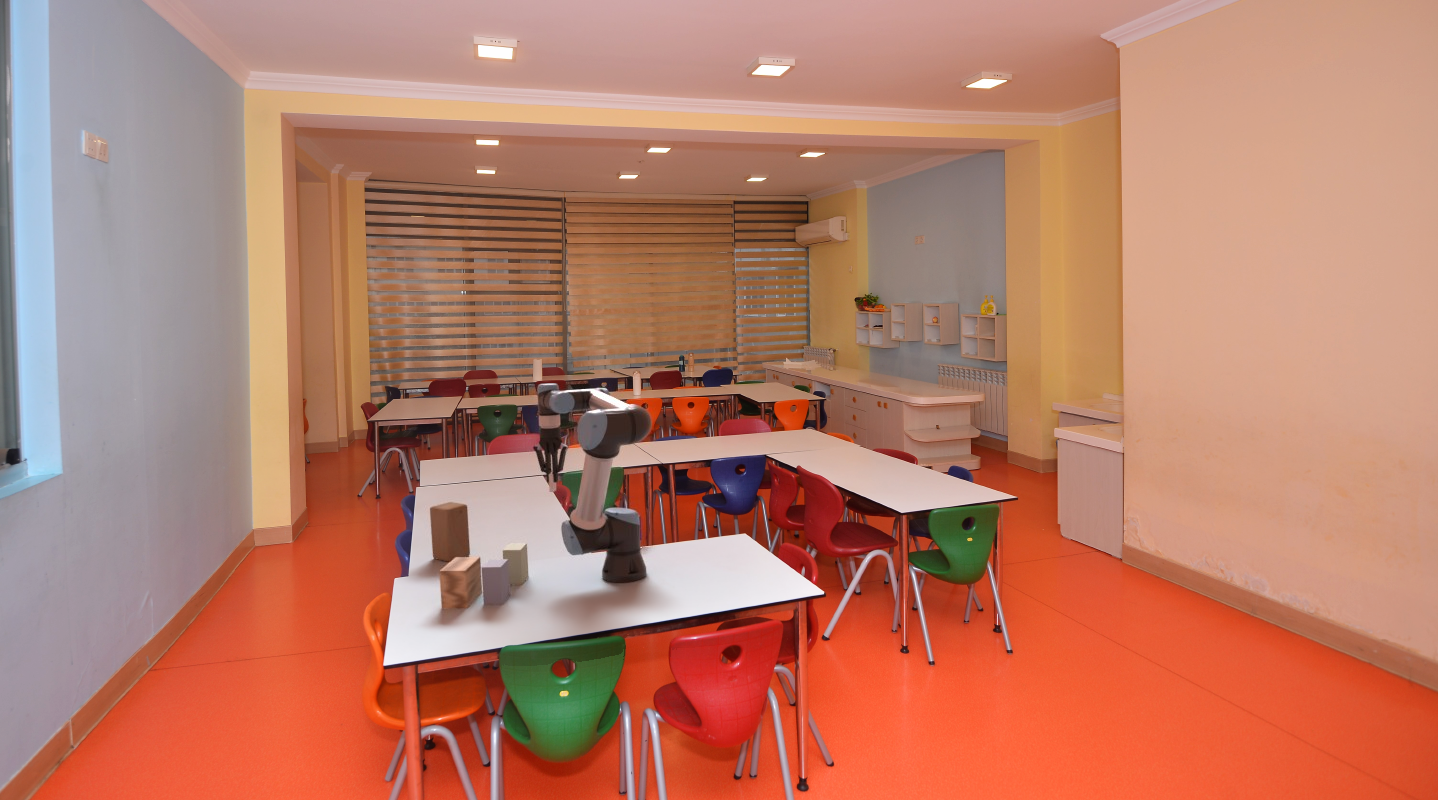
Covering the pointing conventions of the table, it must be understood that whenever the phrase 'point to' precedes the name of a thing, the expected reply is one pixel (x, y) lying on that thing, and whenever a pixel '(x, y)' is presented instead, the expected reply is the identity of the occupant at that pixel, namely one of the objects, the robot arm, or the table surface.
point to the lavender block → (495, 582)
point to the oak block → (460, 582)
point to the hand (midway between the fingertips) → (552, 491)
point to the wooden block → (449, 531)
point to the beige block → (517, 562)
